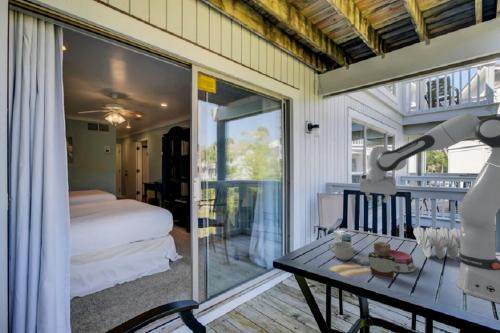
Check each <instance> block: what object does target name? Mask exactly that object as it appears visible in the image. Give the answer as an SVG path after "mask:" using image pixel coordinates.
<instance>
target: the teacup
mask: <svg viewBox="0 0 500 333" xmlns="http://www.w3.org/2000/svg"><path fill="white" fill-rule="evenodd" d="M331 246H332V248H331ZM354 247H355V246H354V245H353V243H352V244H351V243H347V242H336V243H334V242H333V243H332V242H331V243H329V244H328V249H329V250H330V252H332V253H333V254H334V255H335V257H336V258H337V259H339V260H341V261H349V260H351V259H352V258H354V257H353V256H354V253H355V252H354V249H355V248H354Z"/></svg>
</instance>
